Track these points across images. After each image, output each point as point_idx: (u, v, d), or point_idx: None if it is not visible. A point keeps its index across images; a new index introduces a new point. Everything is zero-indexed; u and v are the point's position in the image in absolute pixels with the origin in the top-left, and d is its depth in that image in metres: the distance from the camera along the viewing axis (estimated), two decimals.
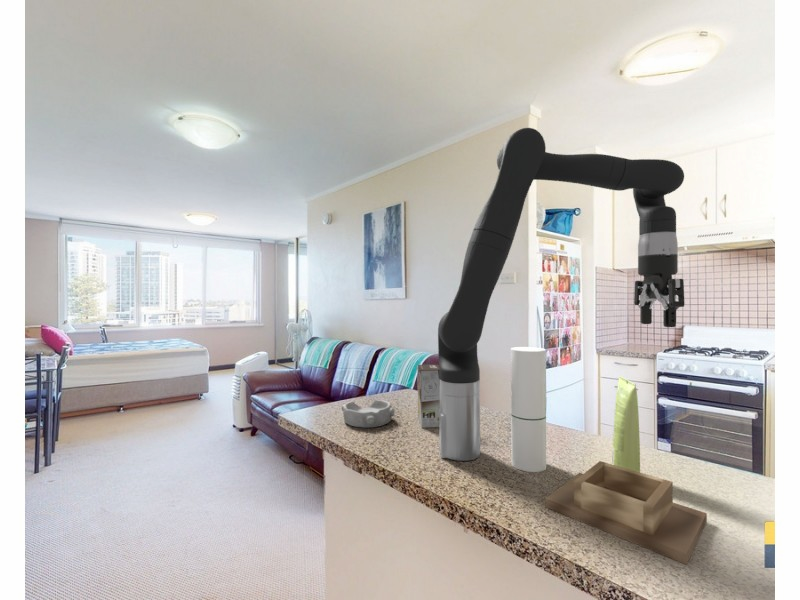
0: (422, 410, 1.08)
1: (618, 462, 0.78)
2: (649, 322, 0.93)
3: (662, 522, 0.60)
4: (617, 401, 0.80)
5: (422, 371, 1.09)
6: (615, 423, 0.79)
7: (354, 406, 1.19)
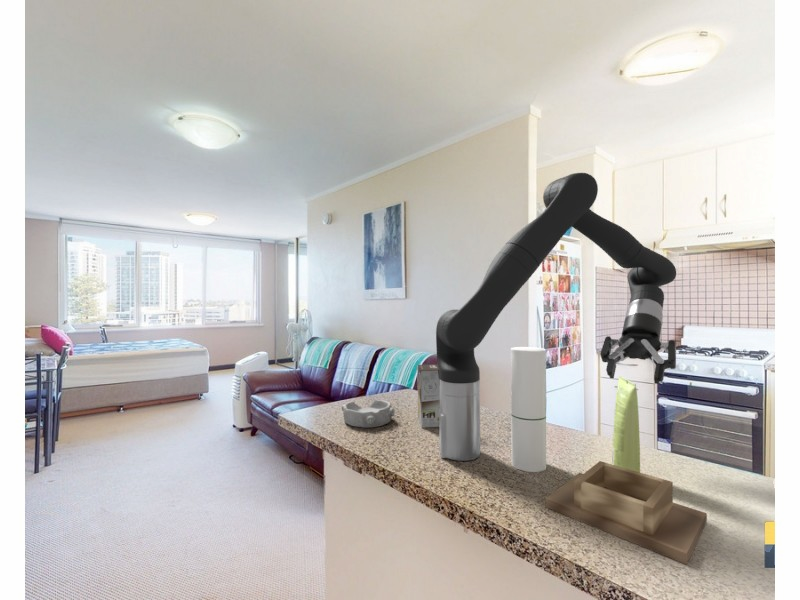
0: (422, 410, 1.08)
1: (618, 462, 0.78)
2: (613, 376, 0.87)
3: (662, 522, 0.60)
4: (617, 401, 0.80)
5: (422, 371, 1.09)
6: (615, 423, 0.79)
7: (354, 406, 1.19)
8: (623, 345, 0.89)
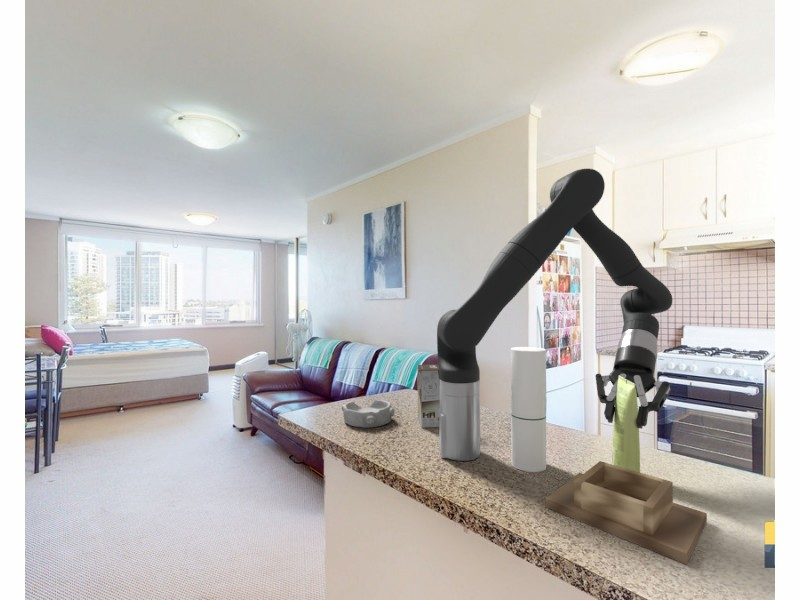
0: (422, 410, 1.08)
1: (618, 462, 0.78)
2: (612, 421, 0.79)
3: (662, 522, 0.60)
4: (617, 401, 0.80)
5: (422, 371, 1.09)
6: (615, 423, 0.80)
7: (354, 406, 1.19)
8: (617, 383, 0.82)
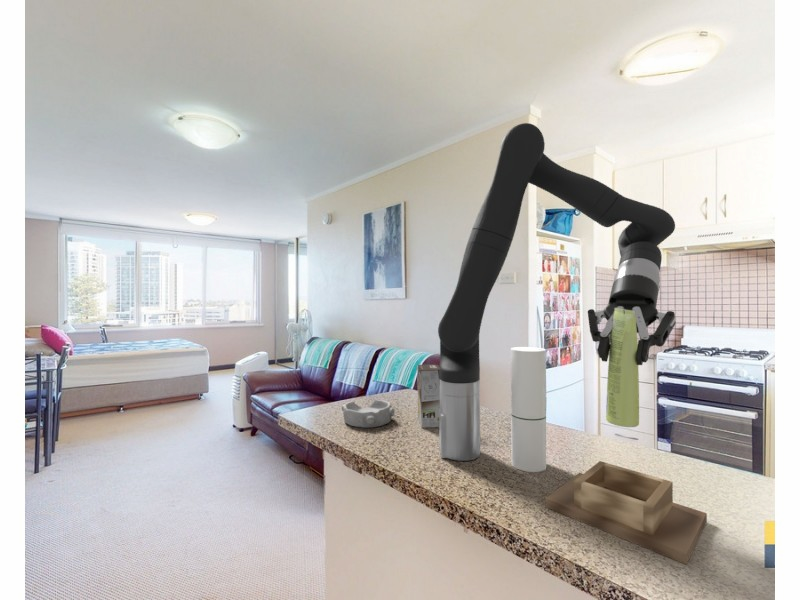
0: (422, 410, 1.08)
1: (614, 407, 0.66)
2: (606, 359, 0.67)
3: (662, 522, 0.60)
4: (612, 336, 0.68)
5: (422, 371, 1.09)
6: (610, 362, 0.67)
7: (354, 406, 1.19)
8: (613, 316, 0.70)
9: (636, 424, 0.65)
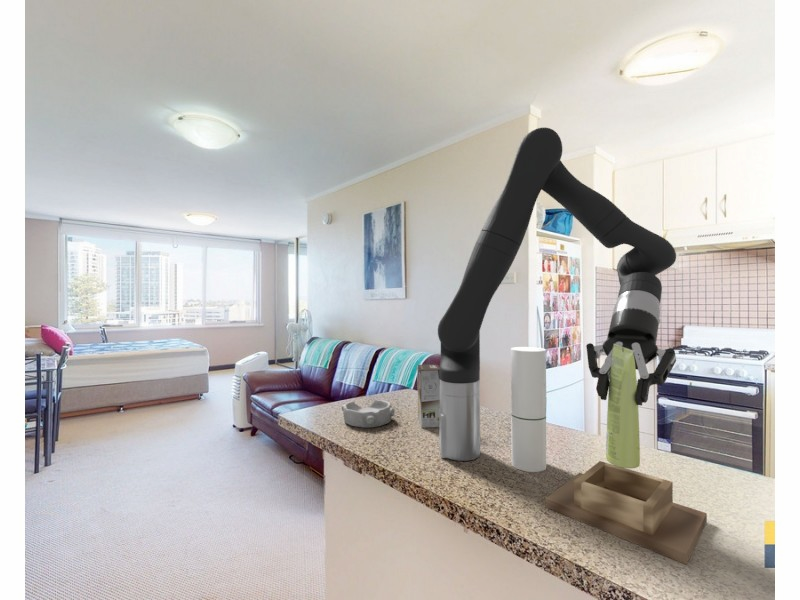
0: (422, 410, 1.08)
1: (614, 447, 0.64)
2: (605, 397, 0.66)
3: (662, 522, 0.60)
4: (611, 374, 0.66)
5: (422, 371, 1.09)
6: (609, 400, 0.66)
7: (354, 406, 1.19)
8: (612, 352, 0.68)
9: (637, 465, 0.63)
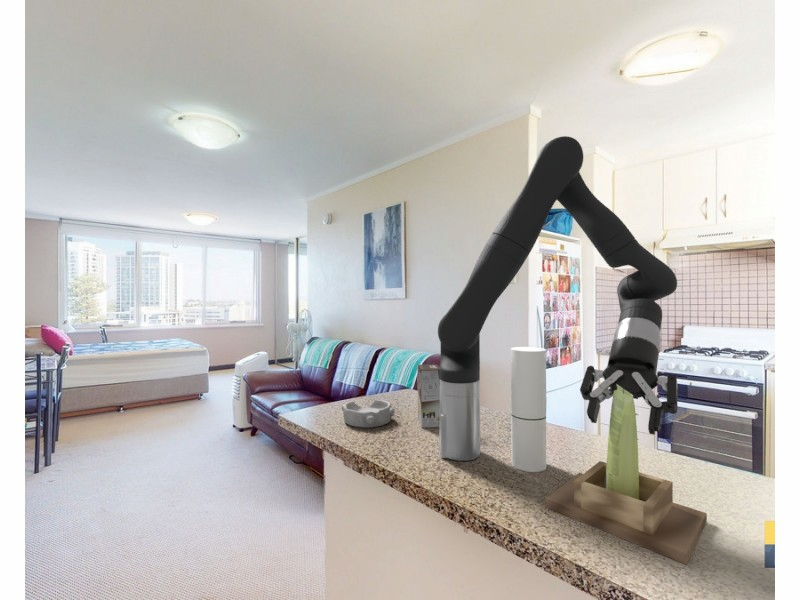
0: (422, 410, 1.08)
1: (613, 488, 0.64)
2: (595, 420, 0.67)
3: (662, 522, 0.60)
4: (612, 414, 0.66)
5: (422, 371, 1.09)
6: (609, 441, 0.66)
7: (354, 406, 1.19)
8: (609, 379, 0.69)
9: None
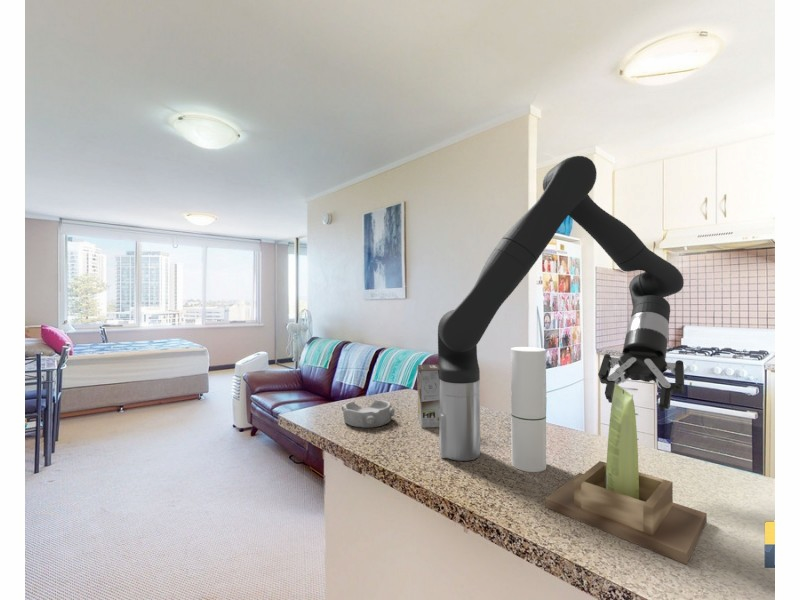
0: (422, 410, 1.08)
1: (612, 488, 0.64)
2: None
3: (662, 522, 0.60)
4: (612, 414, 0.67)
5: (422, 371, 1.09)
6: (609, 441, 0.66)
7: (354, 406, 1.19)
8: (624, 365, 0.79)
9: None
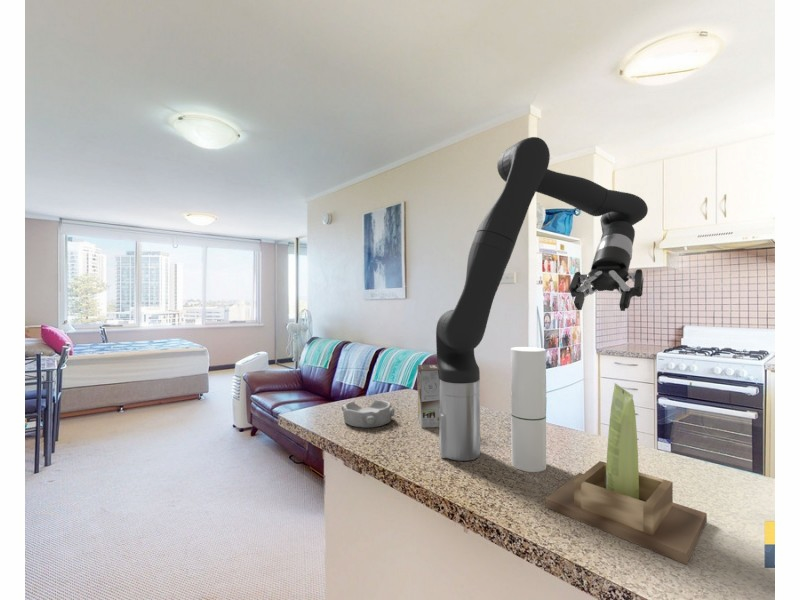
0: (422, 410, 1.08)
1: (612, 488, 0.64)
2: (580, 308, 0.87)
3: (662, 522, 0.60)
4: (611, 414, 0.67)
5: (422, 371, 1.09)
6: (609, 441, 0.66)
7: (354, 406, 1.19)
8: (591, 278, 0.88)
9: None
